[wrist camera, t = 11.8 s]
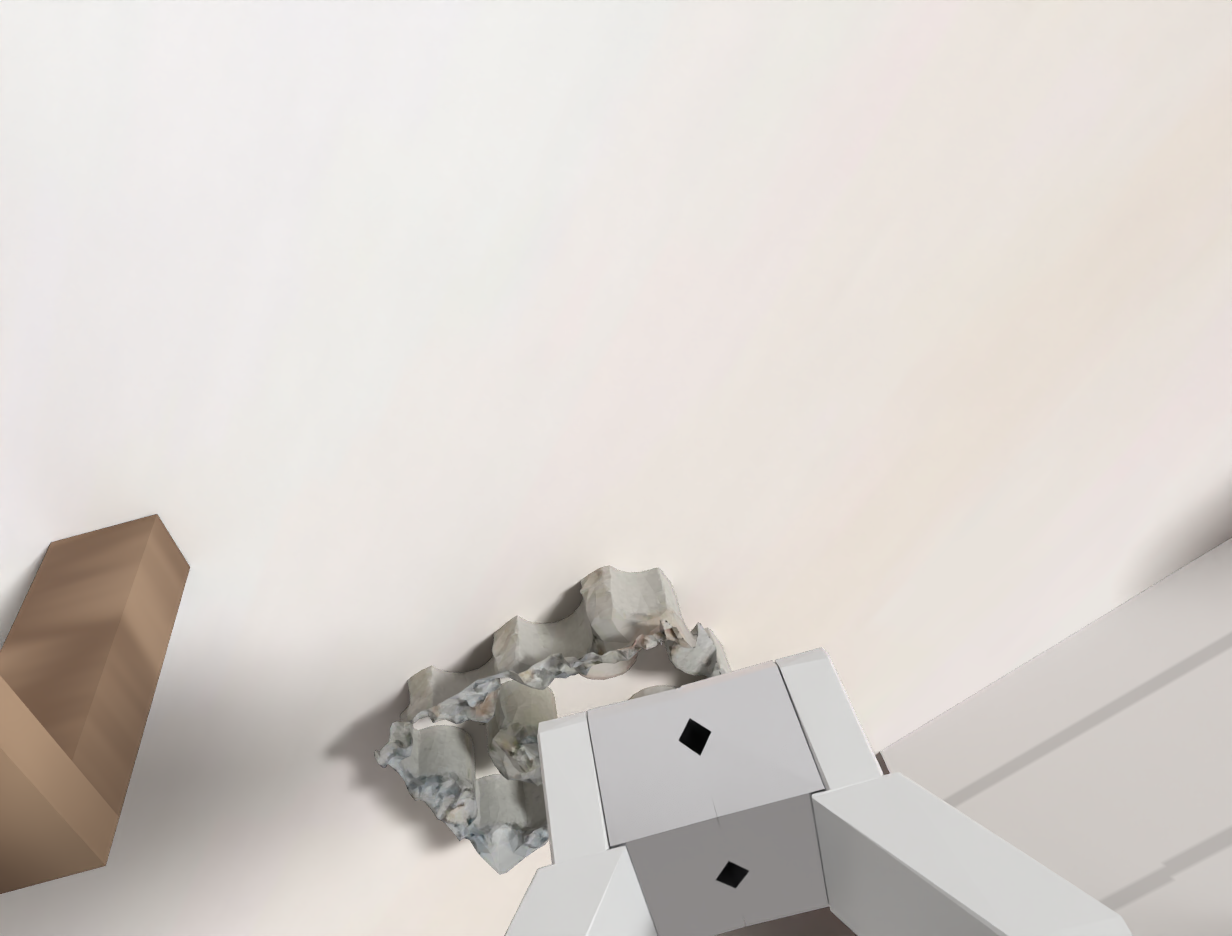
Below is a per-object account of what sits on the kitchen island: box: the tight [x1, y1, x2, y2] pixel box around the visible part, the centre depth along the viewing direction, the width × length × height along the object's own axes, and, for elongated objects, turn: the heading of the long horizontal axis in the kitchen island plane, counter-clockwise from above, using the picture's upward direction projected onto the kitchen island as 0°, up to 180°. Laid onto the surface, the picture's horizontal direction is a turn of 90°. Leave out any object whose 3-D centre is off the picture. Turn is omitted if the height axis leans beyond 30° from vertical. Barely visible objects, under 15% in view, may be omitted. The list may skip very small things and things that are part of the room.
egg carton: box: [374, 566, 731, 874], centre depth 33 cm, size 11×8×4 cm
